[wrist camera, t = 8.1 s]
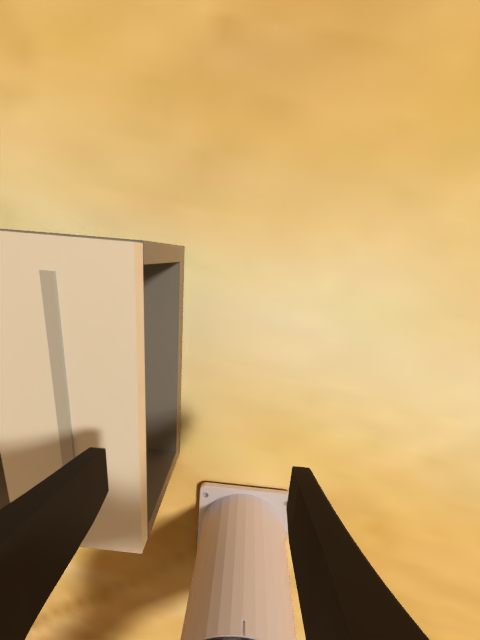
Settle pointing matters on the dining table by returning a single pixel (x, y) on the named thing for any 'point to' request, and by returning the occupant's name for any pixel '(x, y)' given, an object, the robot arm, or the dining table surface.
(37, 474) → the lid
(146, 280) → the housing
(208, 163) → the dining table surface
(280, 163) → the dining table surface
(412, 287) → the dining table surface
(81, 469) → the robot arm
